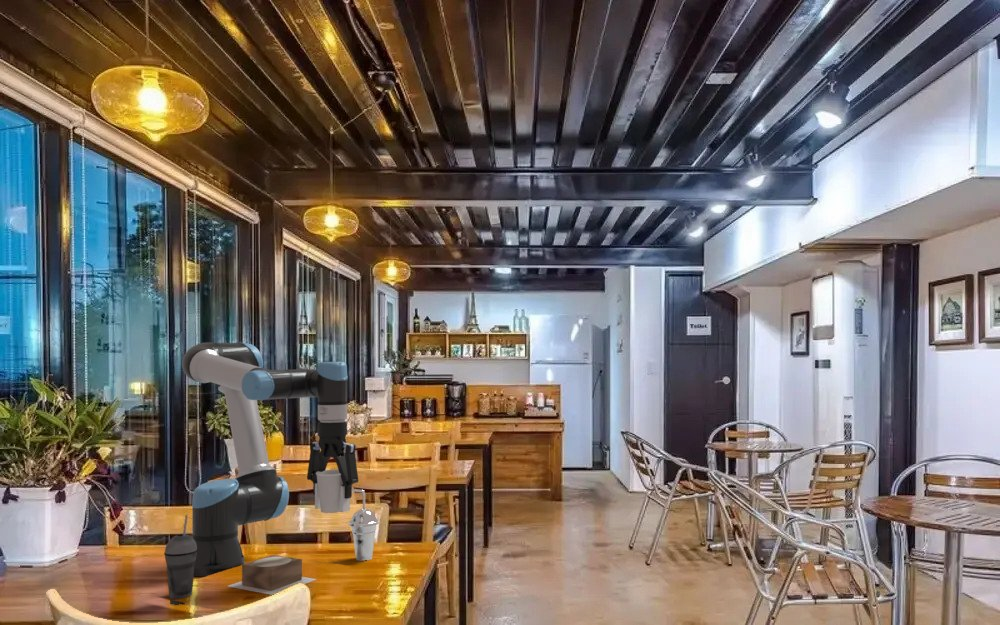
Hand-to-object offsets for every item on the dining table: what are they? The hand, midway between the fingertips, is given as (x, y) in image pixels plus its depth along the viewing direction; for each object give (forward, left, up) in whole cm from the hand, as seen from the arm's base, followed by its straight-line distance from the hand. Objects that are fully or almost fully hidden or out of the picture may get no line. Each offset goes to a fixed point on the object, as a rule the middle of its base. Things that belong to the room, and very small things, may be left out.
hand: (332, 509), depth 192 cm
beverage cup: (-20, -30, -18) cm, 40 cm away
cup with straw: (-6, +19, -18) cm, 27 cm away
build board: (-8, -13, -18) cm, 23 cm away
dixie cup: (0, 0, -1) cm, 1 cm away
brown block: (-8, -13, -16) cm, 22 cm away
